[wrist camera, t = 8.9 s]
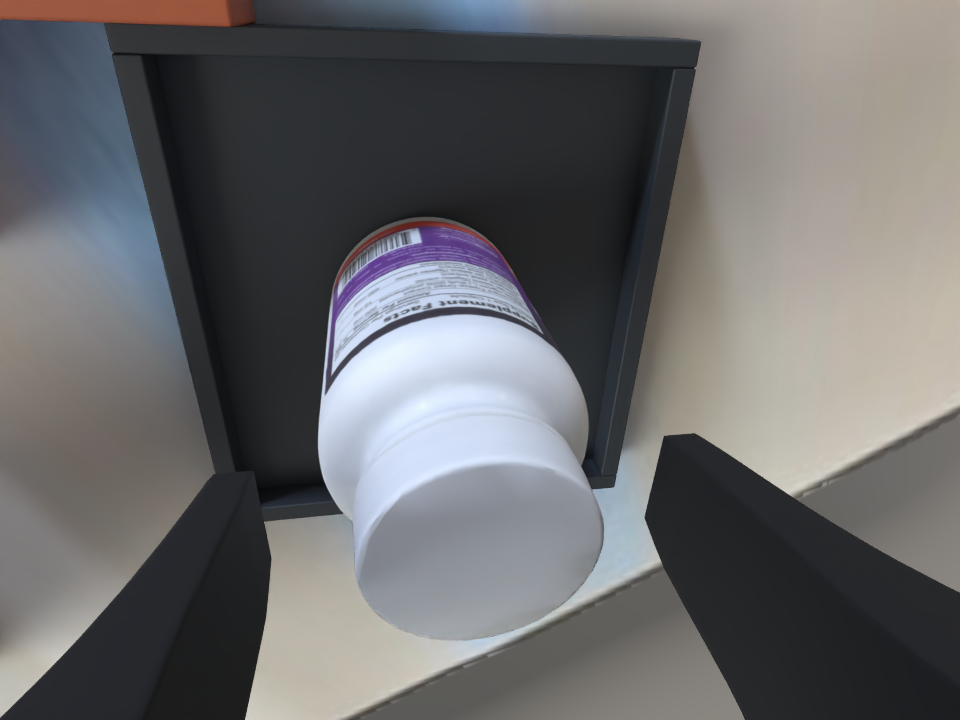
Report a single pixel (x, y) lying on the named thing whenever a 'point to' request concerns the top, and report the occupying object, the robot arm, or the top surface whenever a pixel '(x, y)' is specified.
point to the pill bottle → (453, 437)
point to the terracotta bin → (133, 11)
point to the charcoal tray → (394, 201)
